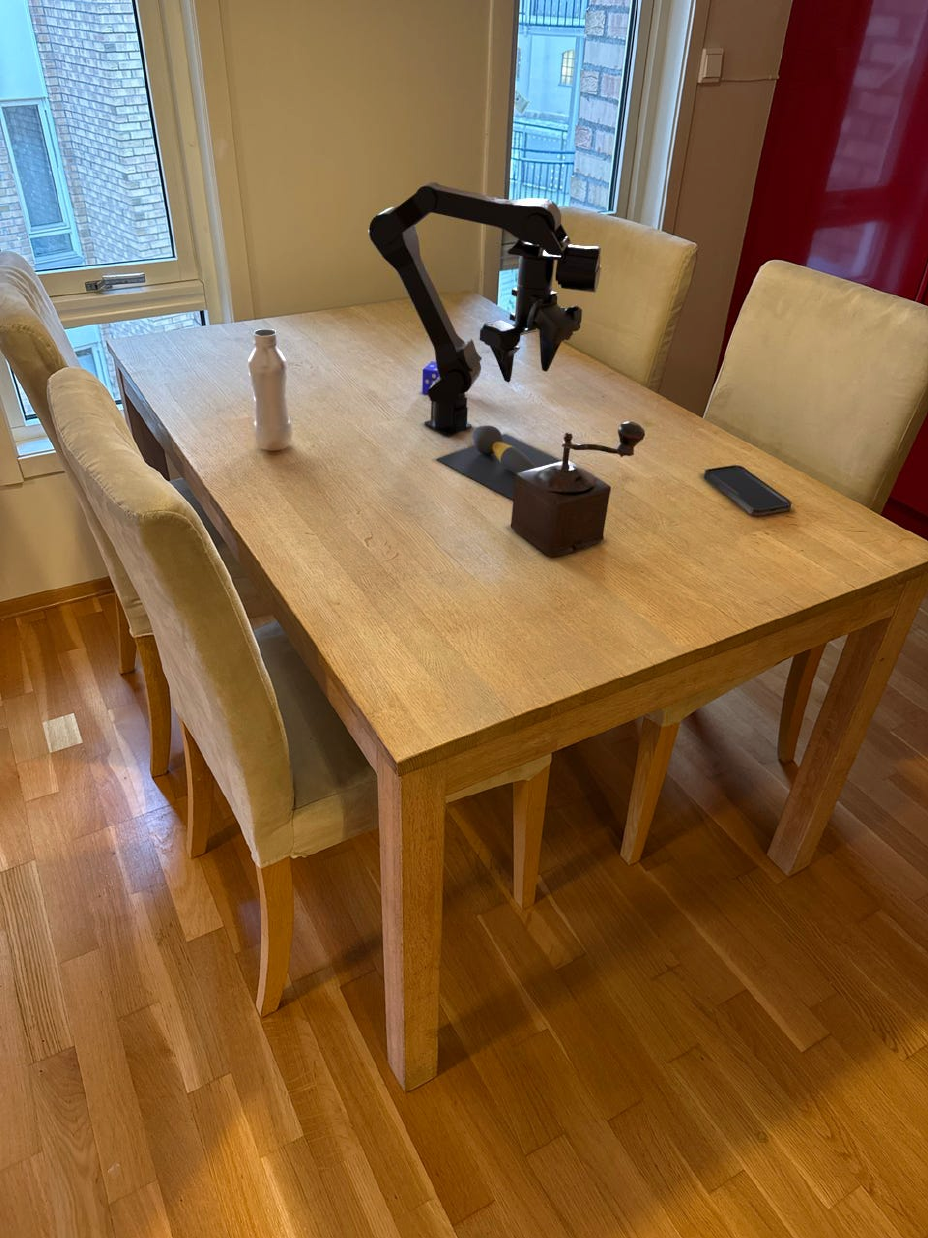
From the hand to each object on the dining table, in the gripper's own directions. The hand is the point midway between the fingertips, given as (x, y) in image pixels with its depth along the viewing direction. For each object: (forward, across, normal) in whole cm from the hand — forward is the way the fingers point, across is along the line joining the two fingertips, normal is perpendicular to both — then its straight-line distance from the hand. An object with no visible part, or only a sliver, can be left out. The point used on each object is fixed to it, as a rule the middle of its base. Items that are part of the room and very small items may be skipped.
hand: (526, 376), depth 157 cm
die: (+12, +2, +26) cm, 29 cm away
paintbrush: (+12, -10, -6) cm, 17 cm away
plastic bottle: (+12, -38, +22) cm, 46 cm away
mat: (+12, -9, -8) cm, 17 cm away
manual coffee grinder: (+12, -17, -29) cm, 36 cm away
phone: (+12, +16, -38) cm, 43 cm away
